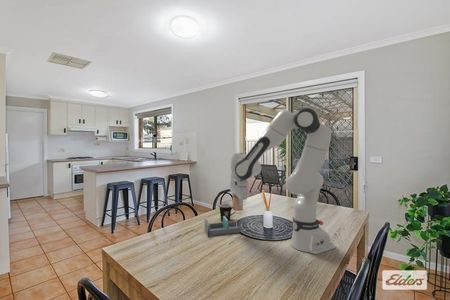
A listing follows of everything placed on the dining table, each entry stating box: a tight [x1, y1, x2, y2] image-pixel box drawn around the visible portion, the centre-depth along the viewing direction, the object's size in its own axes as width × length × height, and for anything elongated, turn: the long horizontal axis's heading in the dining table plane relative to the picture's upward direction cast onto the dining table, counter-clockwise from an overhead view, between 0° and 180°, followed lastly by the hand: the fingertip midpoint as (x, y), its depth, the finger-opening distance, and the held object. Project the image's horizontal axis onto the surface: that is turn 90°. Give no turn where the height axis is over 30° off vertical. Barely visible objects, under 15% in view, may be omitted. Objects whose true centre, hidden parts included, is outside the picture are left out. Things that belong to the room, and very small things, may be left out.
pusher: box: [222, 216, 229, 229], centre depth 135 cm, size 1×8×7 cm, turn 15°
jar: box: [231, 193, 244, 212], centre depth 130 cm, size 6×6×9 cm
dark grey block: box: [204, 218, 242, 237], centre depth 134 cm, size 20×11×6 cm, turn 105°
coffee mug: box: [219, 203, 237, 222], centre depth 153 cm, size 12×9×10 cm
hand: (237, 203), depth 130 cm, fingers closed on jar, 6 cm apart
